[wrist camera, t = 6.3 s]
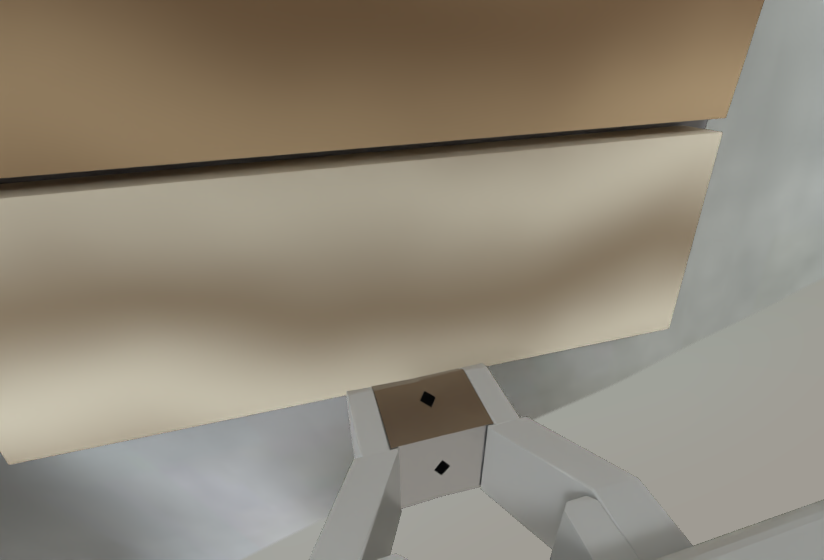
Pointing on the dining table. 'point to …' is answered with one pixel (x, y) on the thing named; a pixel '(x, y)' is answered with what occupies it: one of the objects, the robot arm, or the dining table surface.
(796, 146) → the dining table surface
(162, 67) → the oak plank
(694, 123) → the board
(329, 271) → the ash plank
